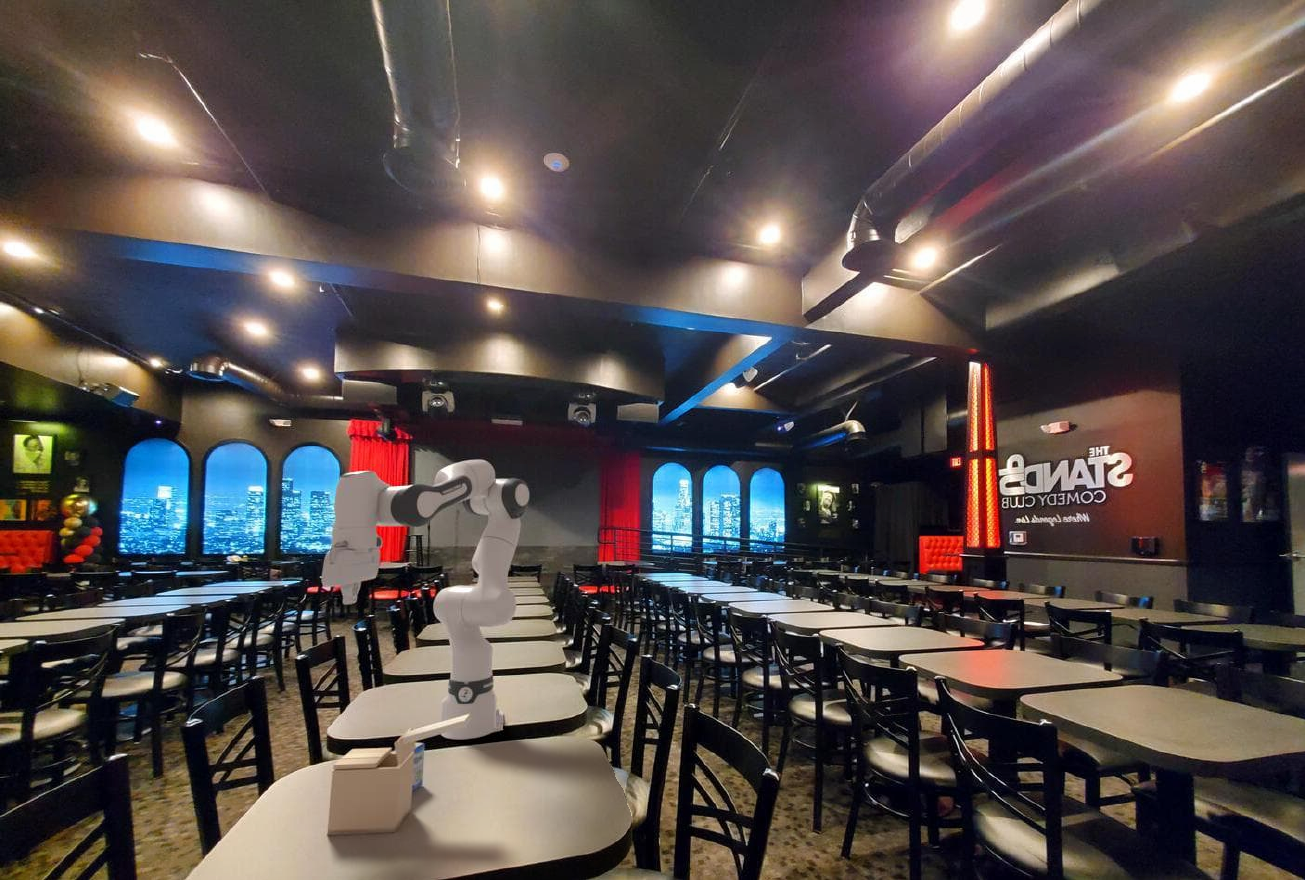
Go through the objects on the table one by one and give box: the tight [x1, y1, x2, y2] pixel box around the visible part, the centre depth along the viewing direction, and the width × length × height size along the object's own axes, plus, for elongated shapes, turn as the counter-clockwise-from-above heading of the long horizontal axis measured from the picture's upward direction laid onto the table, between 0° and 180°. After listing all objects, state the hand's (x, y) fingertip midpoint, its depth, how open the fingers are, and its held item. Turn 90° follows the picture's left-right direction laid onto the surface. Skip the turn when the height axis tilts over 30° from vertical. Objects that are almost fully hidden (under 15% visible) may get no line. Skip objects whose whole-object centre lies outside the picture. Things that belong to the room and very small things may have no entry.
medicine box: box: [391, 741, 425, 793], centre depth 117 cm, size 8×4×9 cm, turn 168°
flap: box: [394, 714, 471, 765], centre depth 108 cm, size 8×4×13 cm
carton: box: [326, 747, 414, 836], centre depth 105 cm, size 8×12×12 cm, turn 95°
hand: (349, 603), depth 123 cm, fingers closed
